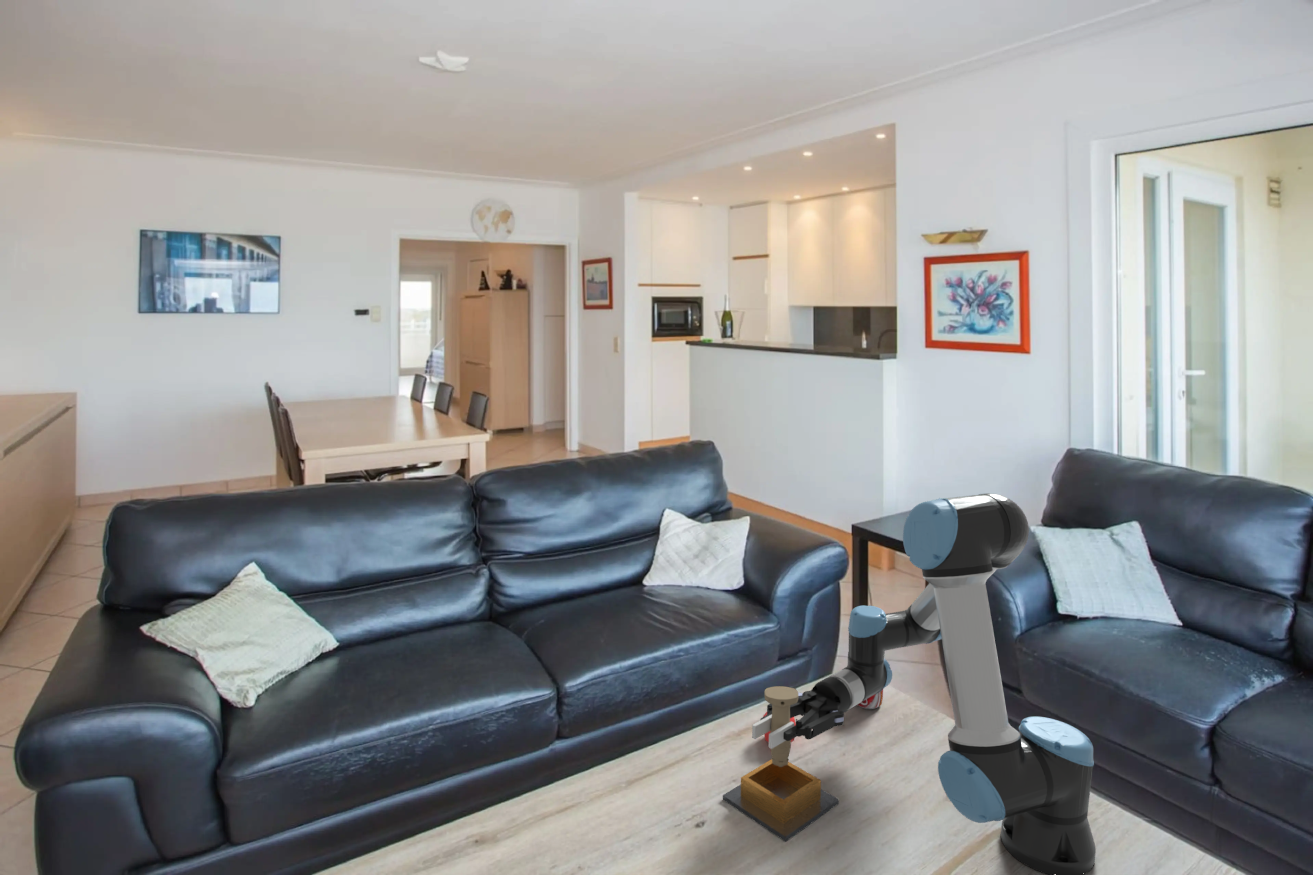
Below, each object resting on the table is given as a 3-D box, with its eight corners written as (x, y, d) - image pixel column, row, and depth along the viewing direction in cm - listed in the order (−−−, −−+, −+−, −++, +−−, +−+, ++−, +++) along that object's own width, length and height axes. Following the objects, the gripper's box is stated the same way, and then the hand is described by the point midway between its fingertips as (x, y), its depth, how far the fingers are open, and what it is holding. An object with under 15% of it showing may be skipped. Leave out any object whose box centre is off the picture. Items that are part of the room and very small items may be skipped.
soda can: (886, 711, 185) (888, 664, 182) (856, 711, 185) (858, 665, 183) (878, 696, 192) (879, 651, 189) (849, 696, 192) (851, 651, 189)
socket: (838, 803, 152) (839, 780, 151) (785, 841, 142) (785, 817, 141) (776, 767, 164) (776, 745, 163) (722, 799, 153) (722, 776, 153)
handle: (797, 770, 149) (799, 699, 146) (764, 770, 149) (765, 699, 146) (795, 755, 154) (796, 686, 151) (762, 755, 154) (763, 686, 151)
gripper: (870, 726, 156) (795, 774, 141) (805, 694, 168) (730, 735, 153) (872, 692, 155) (796, 737, 140) (806, 663, 167) (730, 701, 152)
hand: (762, 736), depth 146 cm, fingers closed on handle, 3 cm apart
